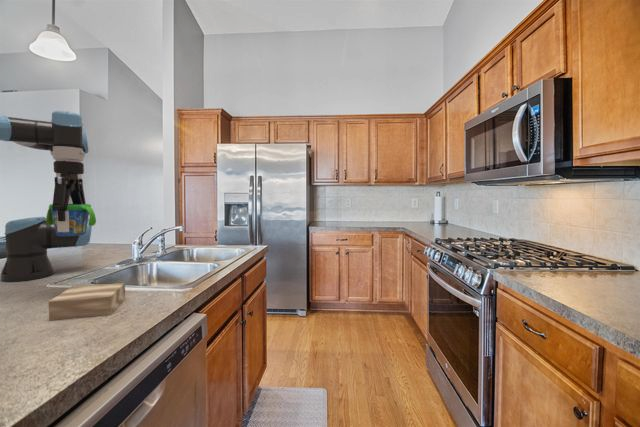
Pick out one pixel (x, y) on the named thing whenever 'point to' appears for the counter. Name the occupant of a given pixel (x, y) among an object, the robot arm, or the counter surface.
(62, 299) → the maple block
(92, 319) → the counter surface
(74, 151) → the robot arm
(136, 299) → the counter surface
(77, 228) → the snack cup
